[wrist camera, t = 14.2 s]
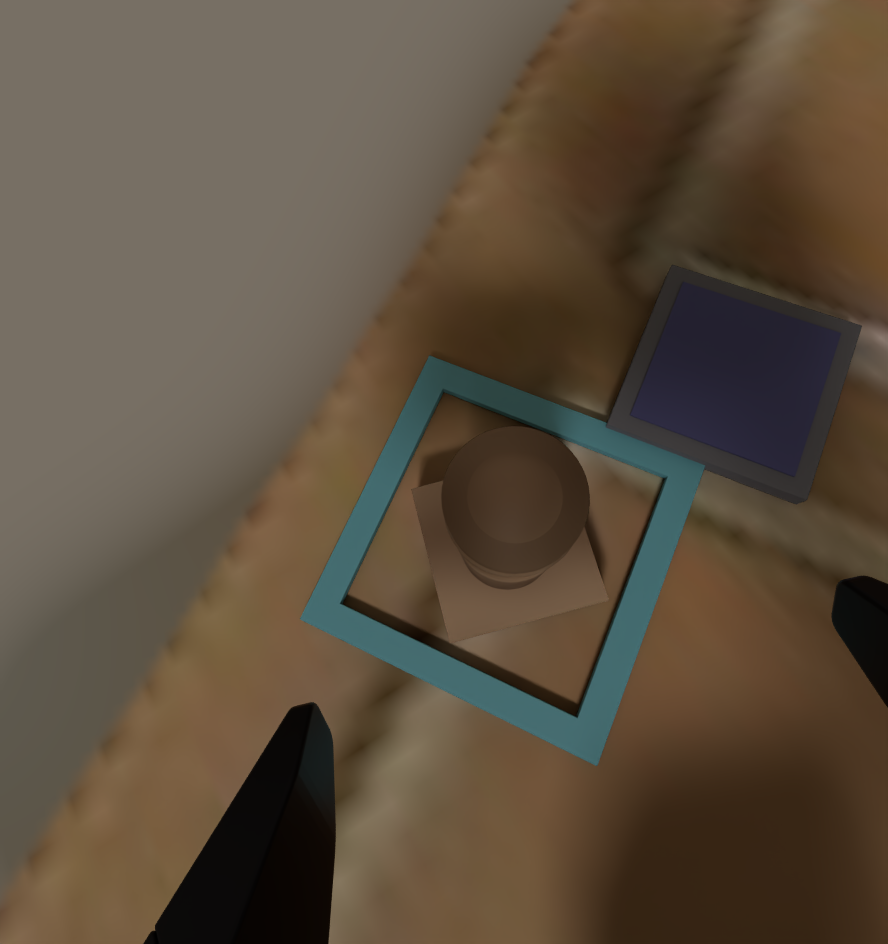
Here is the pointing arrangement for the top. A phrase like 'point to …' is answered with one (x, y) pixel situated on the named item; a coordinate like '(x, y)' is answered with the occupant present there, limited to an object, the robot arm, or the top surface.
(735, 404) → the ink pad
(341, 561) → the frame
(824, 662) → the top surface
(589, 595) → the stamp
